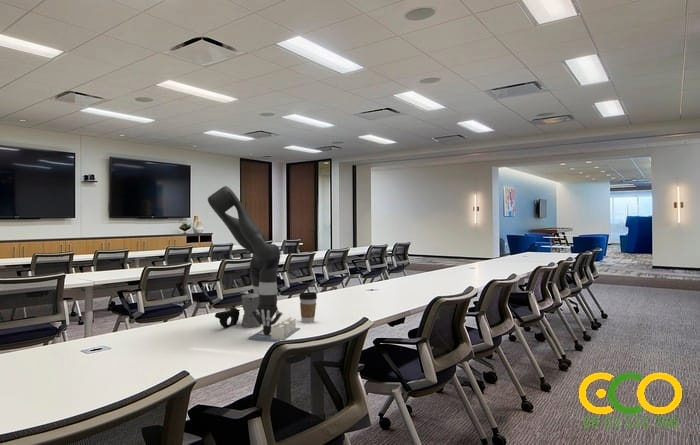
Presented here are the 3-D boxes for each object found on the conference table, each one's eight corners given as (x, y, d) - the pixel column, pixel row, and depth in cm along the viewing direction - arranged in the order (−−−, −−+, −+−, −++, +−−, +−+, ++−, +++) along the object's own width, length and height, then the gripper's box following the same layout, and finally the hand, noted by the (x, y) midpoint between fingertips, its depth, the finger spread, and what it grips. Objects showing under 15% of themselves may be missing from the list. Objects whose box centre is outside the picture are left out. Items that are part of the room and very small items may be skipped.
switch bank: (246, 342, 179) (246, 338, 179) (270, 328, 202) (270, 325, 202) (280, 345, 176) (280, 341, 176) (300, 331, 199) (300, 327, 199)
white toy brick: (271, 339, 180) (271, 325, 180) (275, 336, 184) (275, 323, 184) (280, 339, 179) (280, 325, 179) (284, 337, 183) (284, 323, 183)
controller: (241, 326, 206) (241, 305, 206) (219, 331, 195) (219, 309, 195) (235, 325, 208) (235, 303, 208) (213, 330, 198) (213, 307, 198)
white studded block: (283, 331, 193) (283, 318, 193) (286, 329, 197) (287, 316, 197) (292, 332, 192) (292, 319, 192) (295, 329, 196) (295, 317, 196)
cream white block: (277, 335, 186) (277, 321, 186) (281, 332, 190) (281, 319, 190) (286, 335, 186) (286, 322, 186) (290, 333, 189) (290, 320, 189)
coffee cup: (315, 326, 209) (316, 294, 209) (297, 325, 209) (298, 294, 209) (317, 322, 217) (317, 291, 217) (300, 321, 217) (300, 291, 217)
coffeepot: (261, 331, 196) (261, 291, 196) (239, 332, 195) (239, 291, 195) (263, 323, 212) (263, 286, 212) (242, 324, 210) (243, 286, 210)
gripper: (248, 293, 180) (248, 335, 181) (279, 295, 177) (278, 338, 177) (257, 290, 188) (256, 331, 188) (286, 292, 185) (285, 333, 185)
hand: (267, 334), depth 183 cm, fingers closed
